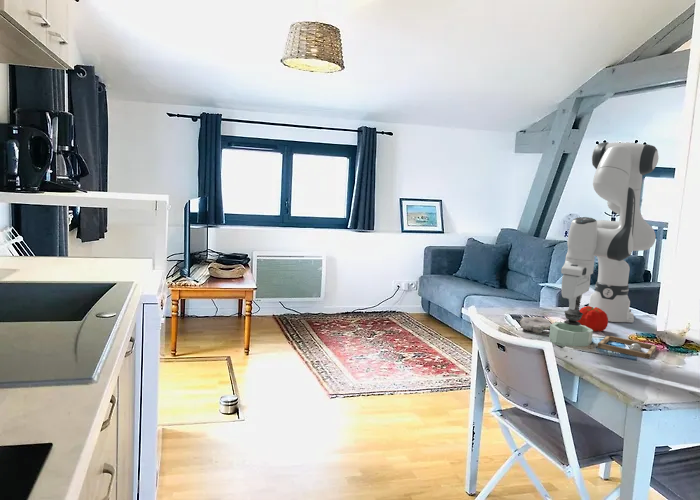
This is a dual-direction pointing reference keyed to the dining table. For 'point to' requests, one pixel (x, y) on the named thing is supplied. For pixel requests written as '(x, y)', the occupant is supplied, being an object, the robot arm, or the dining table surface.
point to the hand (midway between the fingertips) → (574, 308)
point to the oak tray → (647, 355)
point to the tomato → (593, 318)
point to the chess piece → (573, 314)
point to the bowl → (570, 334)
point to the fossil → (535, 324)
